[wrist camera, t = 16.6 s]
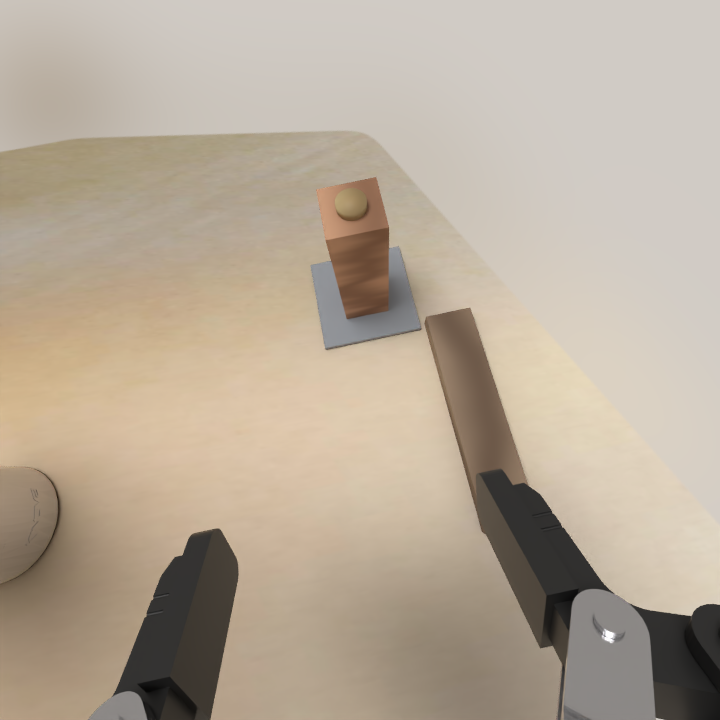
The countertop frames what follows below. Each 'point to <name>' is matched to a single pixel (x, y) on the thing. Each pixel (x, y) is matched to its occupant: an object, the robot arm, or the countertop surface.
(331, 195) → the post
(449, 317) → the walnut board
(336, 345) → the slate mat
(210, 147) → the countertop surface
